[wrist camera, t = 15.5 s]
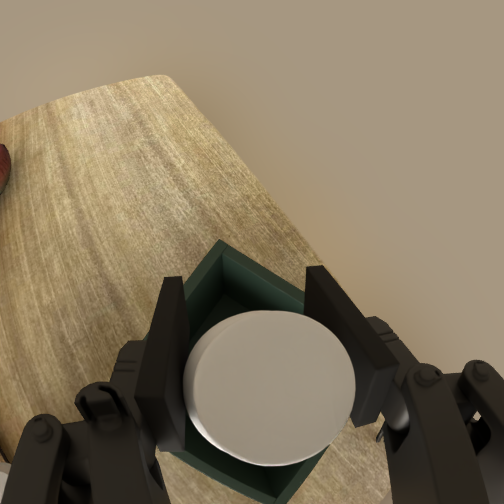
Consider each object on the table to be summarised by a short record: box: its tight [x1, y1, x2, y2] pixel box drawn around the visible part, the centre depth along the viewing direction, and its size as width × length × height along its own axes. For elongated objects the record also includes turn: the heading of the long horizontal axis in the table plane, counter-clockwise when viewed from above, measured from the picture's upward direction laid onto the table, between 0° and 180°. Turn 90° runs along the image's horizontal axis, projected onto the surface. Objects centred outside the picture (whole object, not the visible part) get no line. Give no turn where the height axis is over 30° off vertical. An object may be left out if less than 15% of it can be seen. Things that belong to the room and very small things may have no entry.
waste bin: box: [143, 239, 330, 504], centre depth 22 cm, size 14×14×11 cm
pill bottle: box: [183, 310, 356, 466], centre depth 10 cm, size 5×5×9 cm
